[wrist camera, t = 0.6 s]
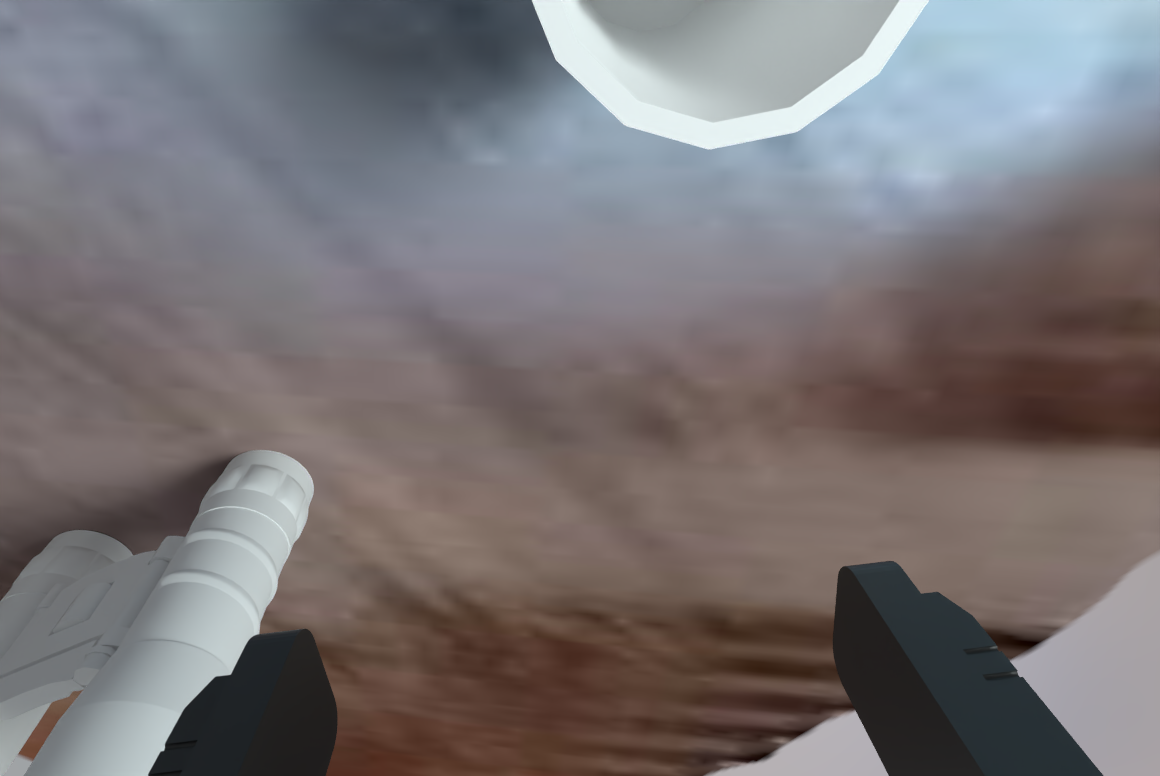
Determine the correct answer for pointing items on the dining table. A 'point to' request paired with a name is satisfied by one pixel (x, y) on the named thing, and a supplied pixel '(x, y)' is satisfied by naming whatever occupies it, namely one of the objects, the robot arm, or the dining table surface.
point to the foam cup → (723, 60)
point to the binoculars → (142, 622)
